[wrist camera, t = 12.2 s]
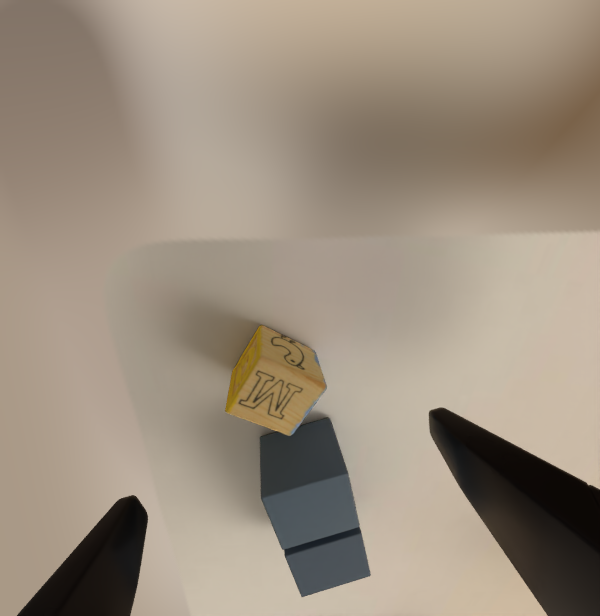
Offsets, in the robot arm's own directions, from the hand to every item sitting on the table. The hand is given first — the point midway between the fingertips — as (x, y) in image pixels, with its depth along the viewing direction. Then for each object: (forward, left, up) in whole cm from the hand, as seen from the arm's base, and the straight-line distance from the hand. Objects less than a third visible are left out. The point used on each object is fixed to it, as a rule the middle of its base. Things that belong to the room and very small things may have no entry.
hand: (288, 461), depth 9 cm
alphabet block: (0, 0, -6) cm, 6 cm away
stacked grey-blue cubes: (+5, -7, -6) cm, 11 cm away
